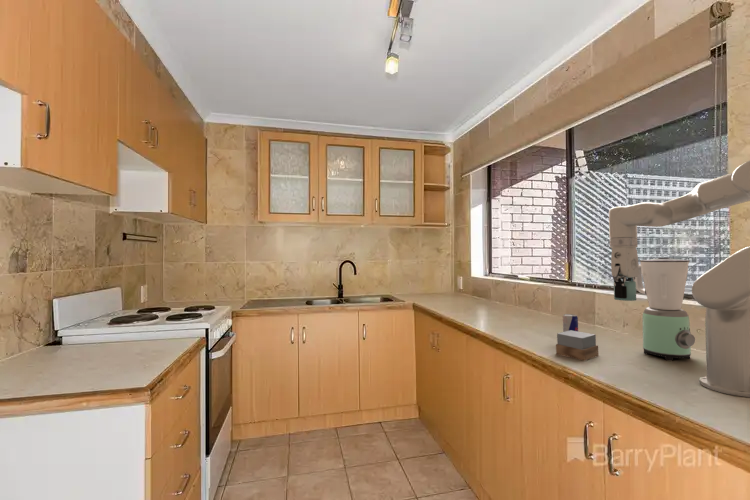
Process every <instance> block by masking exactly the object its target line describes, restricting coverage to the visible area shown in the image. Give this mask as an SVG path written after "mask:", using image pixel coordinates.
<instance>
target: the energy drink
mask: <svg viewBox="0 0 750 500" xmlns="http://www.w3.org/2000/svg"><path fill="white" fill-rule="evenodd" d="M569 330H572V331H578V332H579V317H578V315H577V314H573V313H572V314H571V313H564V314H563V315H562V332H565V331H569Z"/></svg>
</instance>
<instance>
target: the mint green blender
mask: <svg viewBox="0 0 750 500" xmlns="http://www.w3.org/2000/svg"><path fill="white" fill-rule="evenodd" d="M639 263H640V264H639V275H638V276H637V277H635V282H636V291H638V293H640V294H642V295H646V298H647V303H648V307H645V308H644V310H643V312H642V318H641V319H642V322H641V323H642V349H643V354H644V355H653V356H657V357H662V358H664V360H666V361H670V362H671V361H673V359H687V360H689V359H691V355H692V351H691V350H692V349H691V348H692V347H693V345H694V344H695V343H696V337H695V336H694V335H693V334H692V333H691V325H690V324H691V323H690V316H689V314H688V312H687V311H686V310H685V309H683V308H682V307H683V300H684V296H685V289H686V283H687V279H688V270H689V264H690V260H689V259H678V258H671V257H668V256H667V257H657V258H651V259H641V260H640V259H639ZM643 284H644V286H643Z"/></svg>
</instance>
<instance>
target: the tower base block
mask: <svg viewBox="0 0 750 500" xmlns="http://www.w3.org/2000/svg"><path fill="white" fill-rule="evenodd" d="M555 352H556V353H555V354H556V355H557V356H558V355H559V356H562V357H568V358H571V359H576V360H581V361H588V360H590V359H591V360H592V359H593V358H596V357H598V356H599V345H598V344H596V346H593V347H590V348H587V349H583V350H581V349H577V348H572V347H567V346H563V345H558V344H557V343H556V345H555Z"/></svg>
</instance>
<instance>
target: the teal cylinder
mask: <svg viewBox="0 0 750 500" xmlns="http://www.w3.org/2000/svg"><path fill="white" fill-rule="evenodd" d="M625 286H626V287H627V298H625V299H624V298H615V286H614V285H613V298H614V300H617V301H623V302H625V301H626V302H630V301H631V302H633V301H634V302H635V301H637V289H636V282H634V281H626V282H625Z"/></svg>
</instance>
